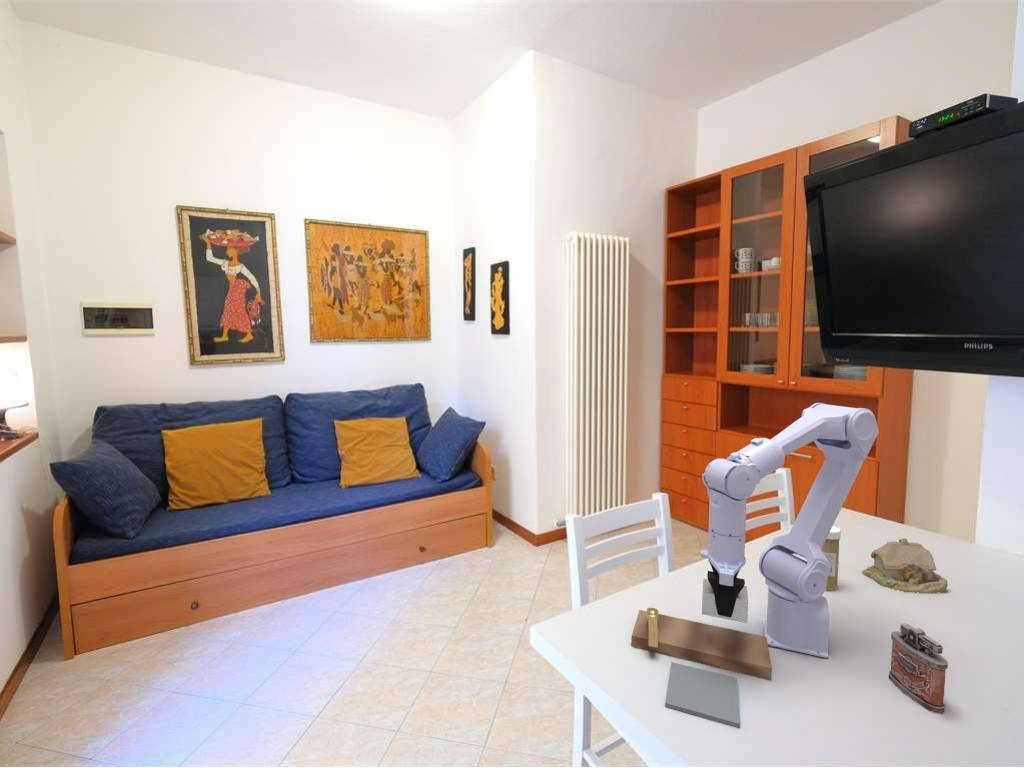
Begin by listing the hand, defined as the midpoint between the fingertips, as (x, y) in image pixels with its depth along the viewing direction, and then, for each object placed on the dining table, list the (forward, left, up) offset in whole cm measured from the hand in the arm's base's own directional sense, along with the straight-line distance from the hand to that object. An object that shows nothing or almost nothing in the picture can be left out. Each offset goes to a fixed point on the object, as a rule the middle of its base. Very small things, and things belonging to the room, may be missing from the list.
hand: (724, 606), depth 82 cm
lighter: (-27, -1, -9) cm, 28 cm away
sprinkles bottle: (-21, -34, -9) cm, 41 cm away
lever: (+12, +3, -6) cm, 13 cm away
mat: (+3, +12, -8) cm, 15 cm away
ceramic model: (-38, -44, -9) cm, 58 cm away
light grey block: (0, 0, -1) cm, 1 cm away
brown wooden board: (+4, 0, -8) cm, 9 cm away
